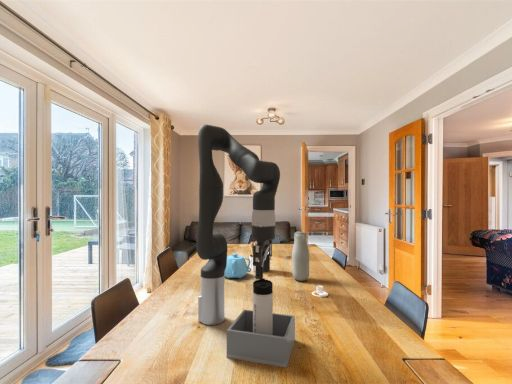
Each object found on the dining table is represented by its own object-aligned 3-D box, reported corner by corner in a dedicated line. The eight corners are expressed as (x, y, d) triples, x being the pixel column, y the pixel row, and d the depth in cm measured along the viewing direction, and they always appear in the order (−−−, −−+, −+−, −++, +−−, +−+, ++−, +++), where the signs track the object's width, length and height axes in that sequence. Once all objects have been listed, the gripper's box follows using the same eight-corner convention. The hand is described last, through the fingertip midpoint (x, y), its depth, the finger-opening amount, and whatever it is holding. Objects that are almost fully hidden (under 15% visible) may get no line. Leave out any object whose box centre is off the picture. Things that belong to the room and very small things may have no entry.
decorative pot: (253, 277, 168) (254, 254, 168) (230, 282, 158) (231, 257, 158) (238, 271, 181) (239, 250, 181) (216, 275, 171) (216, 253, 172)
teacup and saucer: (328, 298, 133) (328, 290, 133) (311, 297, 135) (311, 289, 135) (327, 292, 142) (327, 284, 142) (311, 291, 144) (311, 283, 144)
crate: (226, 357, 84) (226, 330, 84) (244, 332, 99) (244, 309, 99) (286, 367, 79) (286, 338, 79) (294, 339, 94) (294, 315, 94)
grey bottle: (308, 278, 166) (308, 230, 166) (310, 283, 156) (310, 232, 156) (291, 277, 167) (291, 230, 167) (292, 282, 157) (292, 232, 157)
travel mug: (271, 339, 93) (271, 278, 93) (273, 349, 86) (273, 284, 86) (252, 339, 93) (252, 278, 93) (253, 350, 86) (253, 284, 86)
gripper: (258, 221, 97) (257, 268, 97) (245, 225, 84) (244, 280, 84) (279, 222, 95) (279, 270, 95) (269, 226, 82) (268, 283, 81)
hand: (262, 275), depth 89 cm, fingers open, 8 cm apart
